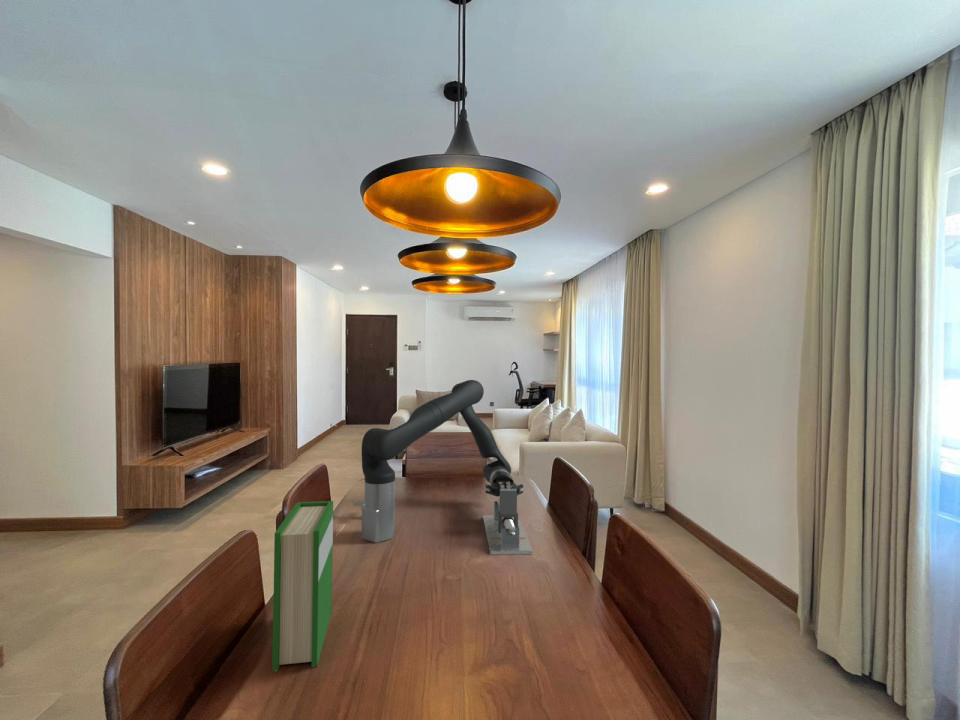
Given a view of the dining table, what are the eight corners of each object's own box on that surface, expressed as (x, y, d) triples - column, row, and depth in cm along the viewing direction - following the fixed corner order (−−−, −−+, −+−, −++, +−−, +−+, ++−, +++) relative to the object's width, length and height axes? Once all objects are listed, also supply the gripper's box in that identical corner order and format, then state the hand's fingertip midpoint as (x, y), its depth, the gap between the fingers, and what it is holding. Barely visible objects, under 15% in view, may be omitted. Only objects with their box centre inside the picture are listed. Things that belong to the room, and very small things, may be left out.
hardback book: (317, 667, 80) (319, 530, 80) (272, 671, 78) (274, 533, 79) (331, 612, 97) (333, 500, 97) (295, 615, 96) (297, 502, 96)
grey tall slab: (498, 531, 137) (498, 488, 137) (516, 530, 138) (517, 488, 138) (498, 533, 135) (499, 490, 135) (517, 533, 136) (518, 490, 136)
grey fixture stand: (483, 518, 158) (483, 496, 158) (517, 517, 158) (517, 495, 158) (490, 554, 128) (490, 527, 128) (532, 554, 128) (532, 526, 128)
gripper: (482, 471, 154) (486, 484, 137) (520, 470, 155) (529, 484, 138) (482, 492, 154) (485, 509, 137) (520, 492, 155) (529, 509, 138)
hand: (507, 496), depth 138 cm, fingers closed
